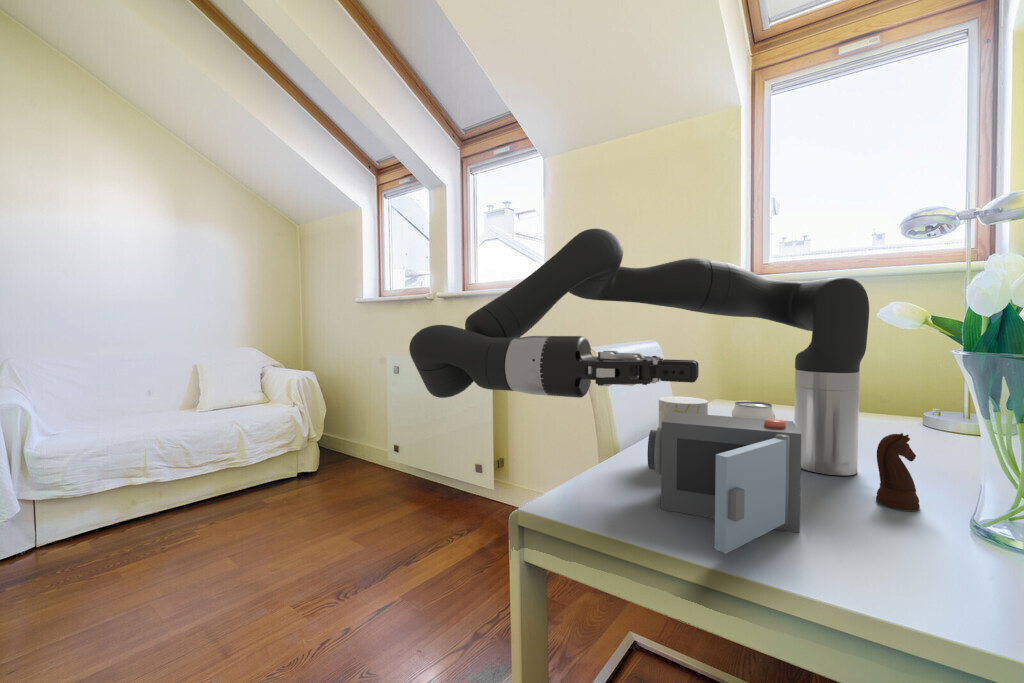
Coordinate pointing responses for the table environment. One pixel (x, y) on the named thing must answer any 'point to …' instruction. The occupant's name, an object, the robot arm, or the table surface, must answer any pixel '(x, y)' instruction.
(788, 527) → the grey box
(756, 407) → the can
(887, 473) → the chess piece
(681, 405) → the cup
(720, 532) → the side door
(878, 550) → the table surface
